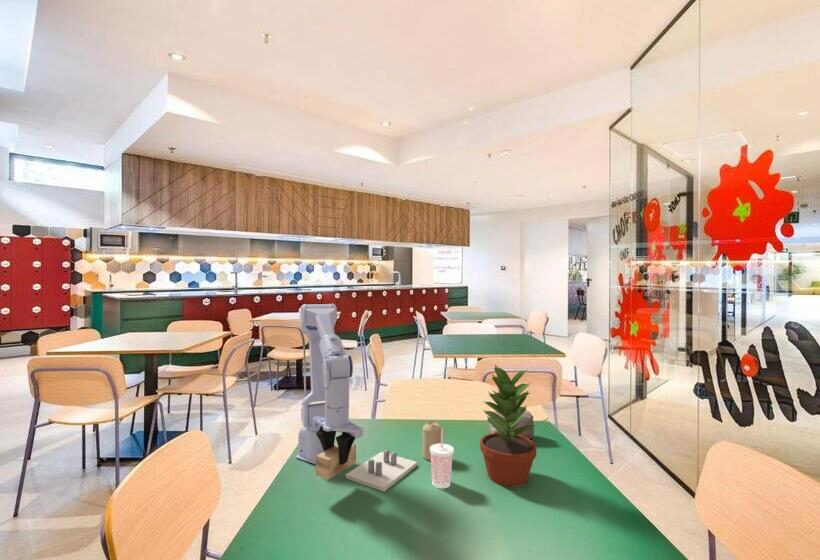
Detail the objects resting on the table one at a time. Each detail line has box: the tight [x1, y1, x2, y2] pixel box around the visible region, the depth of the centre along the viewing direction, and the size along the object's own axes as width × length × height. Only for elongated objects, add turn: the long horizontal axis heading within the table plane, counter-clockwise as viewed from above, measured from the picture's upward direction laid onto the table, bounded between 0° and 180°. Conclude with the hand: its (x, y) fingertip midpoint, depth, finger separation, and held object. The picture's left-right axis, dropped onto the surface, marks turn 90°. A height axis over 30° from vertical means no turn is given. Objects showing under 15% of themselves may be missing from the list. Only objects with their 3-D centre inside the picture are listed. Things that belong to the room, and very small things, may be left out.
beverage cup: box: [430, 427, 455, 489], centre depth 102 cm, size 6×6×14 cm
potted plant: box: [479, 364, 537, 488], centre depth 106 cm, size 15×15×30 cm
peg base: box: [345, 449, 418, 492], centre depth 107 cm, size 12×16×4 cm
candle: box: [422, 420, 443, 462], centre depth 116 cm, size 6×6×10 cm
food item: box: [488, 410, 535, 440], centre depth 132 cm, size 14×8×10 cm, turn 93°
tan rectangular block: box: [315, 443, 357, 480], centre depth 97 cm, size 10×4×4 cm, turn 149°
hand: (336, 460), depth 97 cm, fingers closed on tan rectangular block, 4 cm apart
